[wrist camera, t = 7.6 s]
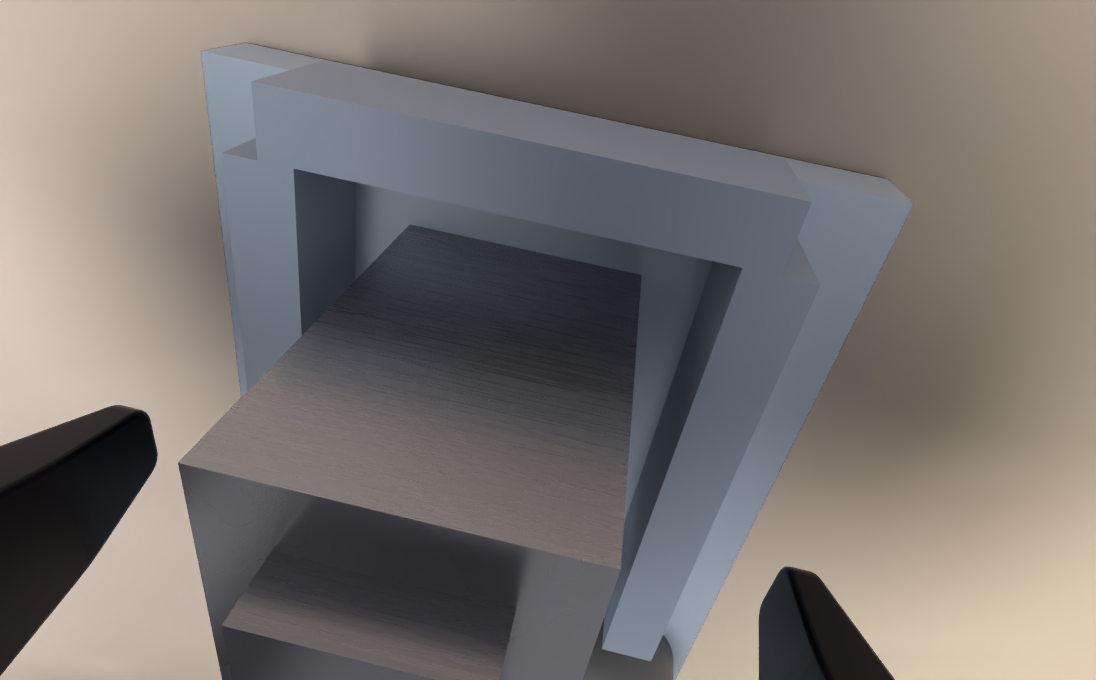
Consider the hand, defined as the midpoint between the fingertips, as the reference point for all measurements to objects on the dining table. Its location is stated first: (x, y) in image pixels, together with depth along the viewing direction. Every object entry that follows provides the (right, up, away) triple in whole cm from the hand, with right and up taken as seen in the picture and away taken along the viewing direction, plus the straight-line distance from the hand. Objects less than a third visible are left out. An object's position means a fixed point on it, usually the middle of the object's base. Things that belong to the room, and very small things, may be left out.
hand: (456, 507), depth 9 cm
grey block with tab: (0, +2, +3) cm, 4 cm away
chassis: (0, 0, +6) cm, 6 cm away
